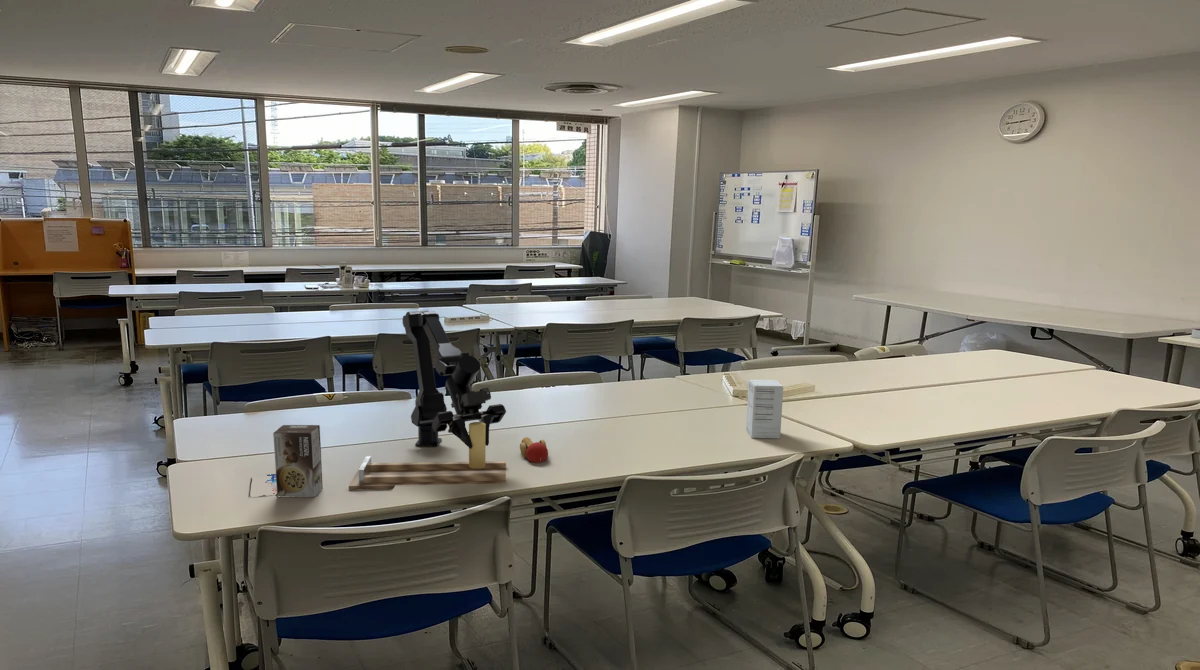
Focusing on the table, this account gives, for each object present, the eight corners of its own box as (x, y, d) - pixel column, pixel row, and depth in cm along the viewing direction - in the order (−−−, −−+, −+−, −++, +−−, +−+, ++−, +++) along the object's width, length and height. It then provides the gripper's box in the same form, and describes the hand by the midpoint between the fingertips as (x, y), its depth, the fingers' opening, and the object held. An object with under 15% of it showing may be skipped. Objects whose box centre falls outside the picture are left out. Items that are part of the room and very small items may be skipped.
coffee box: (323, 487, 185) (321, 424, 182) (314, 497, 179) (312, 432, 176) (286, 487, 185) (283, 424, 182) (275, 497, 178) (272, 431, 175)
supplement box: (780, 439, 234) (784, 386, 231) (751, 438, 234) (754, 385, 231) (773, 430, 243) (776, 379, 240) (745, 429, 243) (748, 378, 240)
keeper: (470, 462, 196) (470, 421, 194) (486, 463, 195) (486, 422, 194) (467, 468, 191) (467, 426, 190) (483, 468, 191) (483, 427, 189)
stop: (371, 468, 196) (371, 455, 195) (364, 483, 186) (363, 469, 185) (366, 468, 196) (366, 455, 195) (359, 483, 186) (358, 469, 185)
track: (505, 467, 202) (505, 458, 202) (505, 486, 188) (505, 477, 188) (360, 470, 198) (359, 461, 197) (348, 489, 184) (348, 480, 184)
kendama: (510, 452, 219) (523, 464, 202) (514, 431, 219) (527, 441, 202) (536, 455, 221) (551, 467, 204) (539, 434, 222) (554, 444, 204)
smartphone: (247, 497, 177) (250, 476, 191) (247, 500, 177) (250, 478, 191) (282, 493, 180) (282, 472, 194) (282, 496, 180) (282, 474, 194)
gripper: (435, 381, 188) (454, 436, 180) (503, 374, 198) (522, 425, 191) (424, 405, 195) (441, 458, 188) (489, 396, 206) (508, 446, 199)
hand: (479, 446), depth 191 cm, fingers closed on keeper, 4 cm apart
